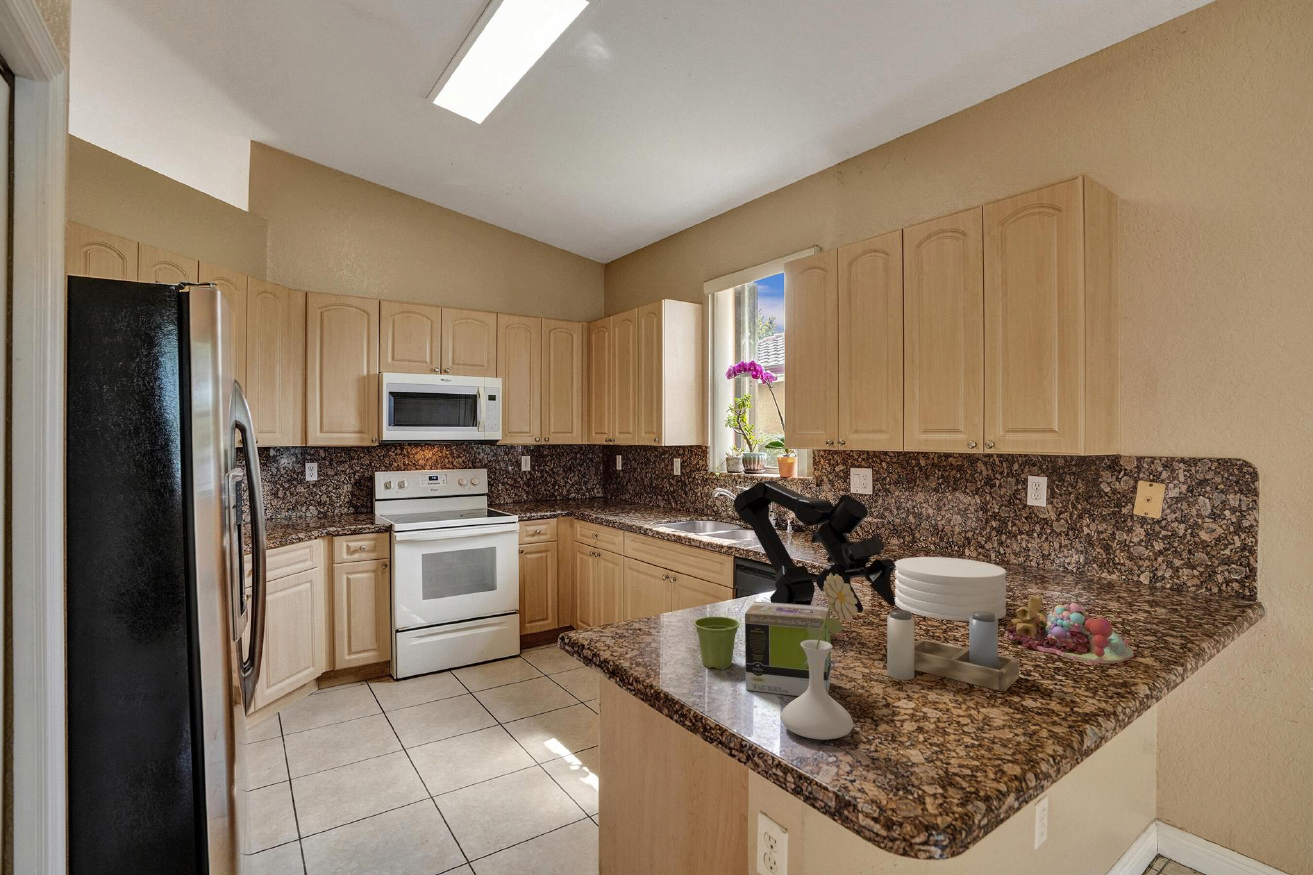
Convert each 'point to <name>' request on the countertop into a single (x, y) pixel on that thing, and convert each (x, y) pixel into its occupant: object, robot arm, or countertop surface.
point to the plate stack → (949, 587)
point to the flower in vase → (822, 674)
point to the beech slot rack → (963, 665)
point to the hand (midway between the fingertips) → (878, 608)
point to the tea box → (782, 646)
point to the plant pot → (716, 640)
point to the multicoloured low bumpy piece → (1068, 633)
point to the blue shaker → (983, 639)
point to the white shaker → (900, 644)
